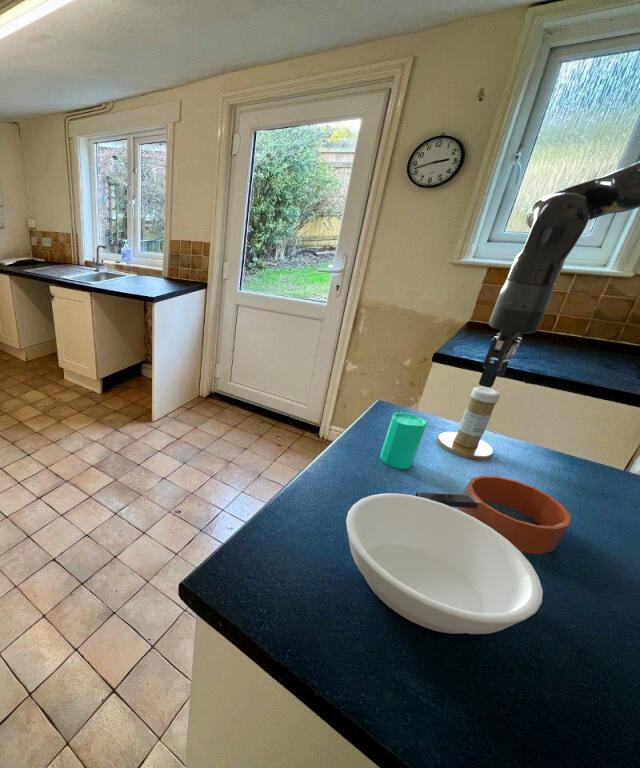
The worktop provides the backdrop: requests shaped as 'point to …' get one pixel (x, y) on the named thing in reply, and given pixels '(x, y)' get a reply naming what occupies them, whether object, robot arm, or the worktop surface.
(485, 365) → the robot arm
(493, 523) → the pan
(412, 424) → the candle
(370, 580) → the bowl
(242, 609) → the worktop surface
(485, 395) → the sprinkles bottle
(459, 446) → the disc
